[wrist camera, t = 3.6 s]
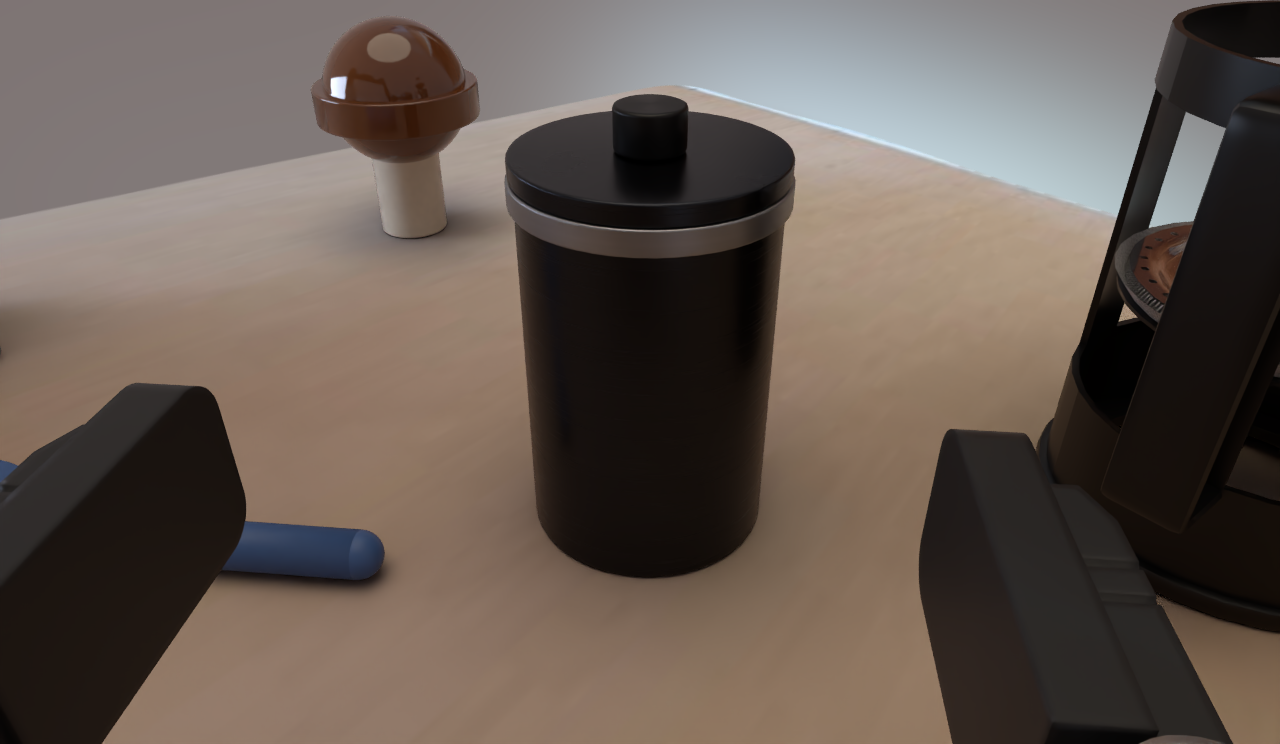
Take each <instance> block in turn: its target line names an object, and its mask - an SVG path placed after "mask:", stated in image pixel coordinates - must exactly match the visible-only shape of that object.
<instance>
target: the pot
mask: <svg viewBox="0 0 1280 744" xmlns="http://www.w3.org/2000/svg"><path fill="white" fill-rule="evenodd" d="M505 166H506V175H505V195H506V206H507V209H508V212H509V214H510V216H511V217H512V219H513V220H514V221H515V233H516V246H517V259H518V272H519V285H520V298H521V311H522V323H523V336H524V349H525V362H526V375H527V388H528V401H529V414H530V427H531V440H532V453H533V466H534V479H535V492H536V504H537V511H538V516H539V519H540V522H541V524H542V526H543V528H544V530H545V531H546V533H547V534H548V536H549V537H550V538H551V539H552V540H553V542H554V543H555V544H556V545H557V546H558V547H559V548H561V549H562V550H563V551H564V552H566V553H567V554H568V555H570V556H572V557H573V558H575V559H577V560H578V561H580V562H582V563H585V564H587V565H589V566H591V567H594V568H597V569H600V570H603V571H606V572H611V573H615V574H620V575H628V576H636V577H659V576H670V575H676V574H682V573H686V572H690V571H694V570H697V569H700V568H703V567H705V566H708V565H710V564H712V563H714V562H716V561H718V560H720V559H722V558H724V557H725V556H726V555H728V554H729V553H731V552H732V551H734V550H735V549H736V548H737V547H738V546H739V545H740V544H741V543H742V542H743V541H744V539H745V538H746V537H747V536H748V534H749V533H750V531H751V530H752V528H753V526H754V524H755V521H756V518H757V514H758V507H759V496H760V485H761V474H762V463H763V452H764V442H765V431H766V420H767V409H768V398H769V387H770V376H771V365H772V354H773V344H774V333H775V322H776V311H777V300H778V289H779V278H780V267H781V256H782V246H783V235H784V224H785V222H786V221H787V220H788V218H789V217H790V215H791V212H792V210H793V203H794V193H795V177H794V168H795V156H794V153H793V150H792V148H791V147H790V146H789V144H788V143H787V142H785V141H784V140H783V139H782V138H781V137H779V136H777V135H776V134H774V133H772V132H770V131H768V130H766V129H764V128H761V127H759V126H756V125H753V124H750V123H747V122H744V121H740V120H737V119H732V118H728V117H724V116H718V115H712V114H706V113H698V112H689V111H688V105H687V103H686V102H685V101H683V100H681V99H678V98H675V97H671V96H666V95H656V94H644V95H634V96H629V97H625V98H622V99H619V100H617V101H616V102H615V103H614V104H613V107H612V111H608V112H598V113H591V114H585V115H579V116H574V117H569V118H565V119H561V120H557V121H554V122H551V123H548V124H545V125H542V126H539V127H537V128H535V129H532V130H530V131H528V132H526V133H525V134H523V135H521V136H520V137H519V138H517V139H516V140H515V141H514V142H513V143H512V144H511V145H510V146H509V148H508V150H507V152H506V156H505Z"/></svg>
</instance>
